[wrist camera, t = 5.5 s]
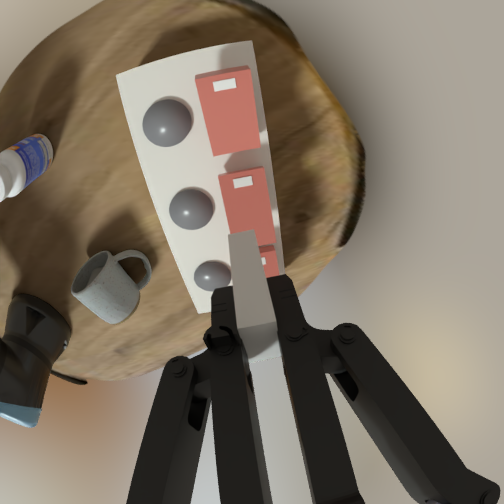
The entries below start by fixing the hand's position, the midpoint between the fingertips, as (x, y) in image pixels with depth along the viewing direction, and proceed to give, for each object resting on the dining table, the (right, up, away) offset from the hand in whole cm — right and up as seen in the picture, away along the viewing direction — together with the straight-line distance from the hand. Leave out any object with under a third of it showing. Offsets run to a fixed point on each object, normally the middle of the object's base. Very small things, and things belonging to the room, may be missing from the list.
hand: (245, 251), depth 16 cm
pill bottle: (-26, +12, +8) cm, 30 cm away
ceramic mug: (-19, -2, +20) cm, 27 cm away
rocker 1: (-1, +11, +3) cm, 12 cm away
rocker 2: (0, +4, +9) cm, 10 cm away
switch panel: (-3, +6, +16) cm, 17 cm away
